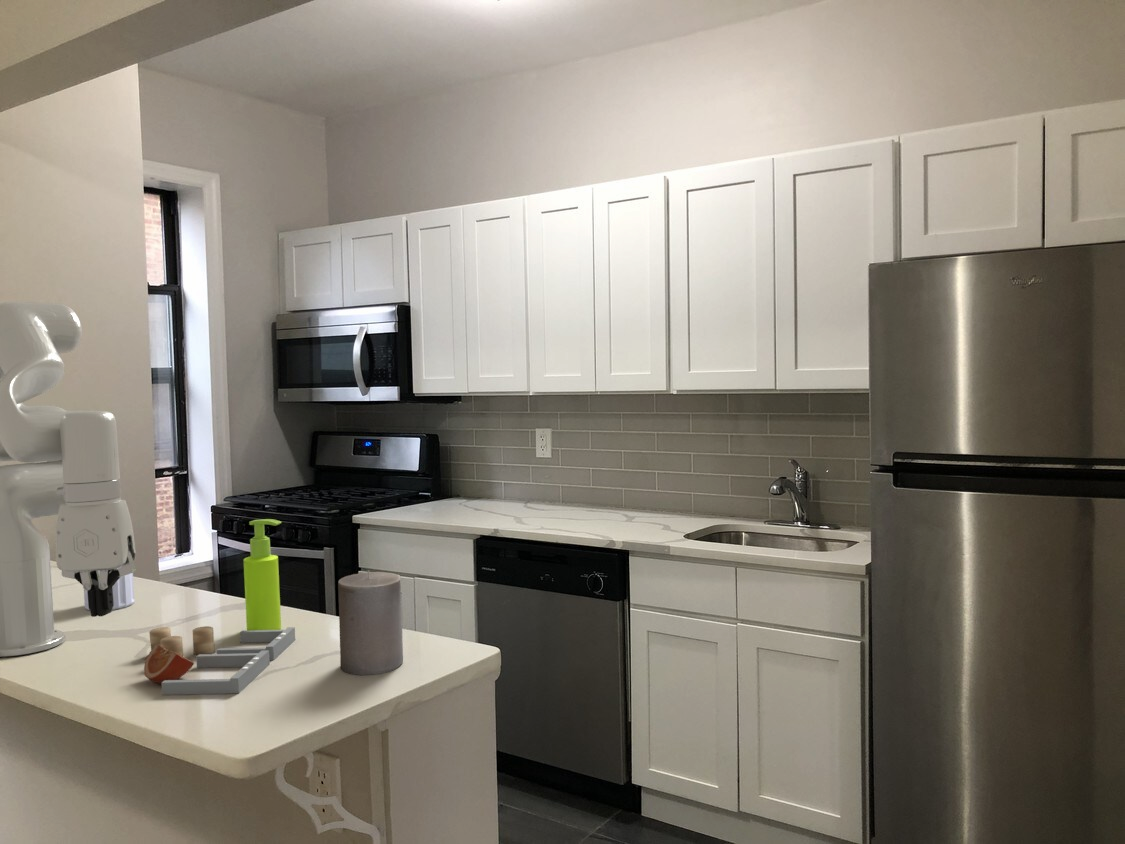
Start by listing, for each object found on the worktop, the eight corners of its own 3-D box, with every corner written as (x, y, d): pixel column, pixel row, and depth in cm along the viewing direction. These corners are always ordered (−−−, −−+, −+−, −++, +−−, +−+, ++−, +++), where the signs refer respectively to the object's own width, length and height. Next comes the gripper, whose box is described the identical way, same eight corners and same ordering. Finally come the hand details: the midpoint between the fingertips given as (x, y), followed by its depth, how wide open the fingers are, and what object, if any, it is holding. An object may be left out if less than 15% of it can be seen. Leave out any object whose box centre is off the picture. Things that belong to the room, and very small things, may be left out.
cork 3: (191, 656, 149) (190, 633, 148) (196, 650, 152) (195, 626, 152) (211, 655, 149) (210, 632, 149) (216, 649, 152) (215, 625, 152)
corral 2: (217, 661, 146) (216, 647, 146) (242, 640, 157) (241, 627, 157) (273, 659, 146) (273, 645, 146) (295, 639, 157) (294, 626, 157)
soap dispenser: (276, 635, 160) (270, 522, 159) (240, 634, 161) (235, 522, 160) (292, 625, 166) (287, 517, 164) (257, 624, 167) (252, 517, 166)
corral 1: (162, 694, 131) (161, 679, 131) (199, 665, 144) (198, 651, 144) (238, 693, 131) (238, 677, 131) (269, 664, 144) (268, 649, 144)
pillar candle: (330, 664, 143) (326, 570, 142) (387, 650, 149) (383, 560, 148) (357, 680, 135) (353, 581, 134) (415, 665, 141) (412, 571, 140)
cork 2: (158, 666, 144) (156, 642, 144) (167, 660, 147) (166, 636, 147) (178, 666, 144) (176, 641, 144) (186, 660, 147) (185, 635, 147)
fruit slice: (137, 679, 138) (135, 647, 138) (181, 668, 143) (180, 637, 143) (156, 692, 132) (154, 659, 132) (202, 680, 137) (200, 648, 137)
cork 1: (149, 658, 149) (146, 634, 148) (155, 651, 152) (152, 628, 152) (169, 656, 149) (167, 632, 149) (175, 649, 152) (172, 626, 152)
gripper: (28, 498, 132) (38, 623, 133) (130, 493, 132) (138, 618, 133) (58, 492, 140) (66, 610, 141) (154, 488, 140) (162, 606, 140)
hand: (101, 614), depth 137 cm, fingers closed
